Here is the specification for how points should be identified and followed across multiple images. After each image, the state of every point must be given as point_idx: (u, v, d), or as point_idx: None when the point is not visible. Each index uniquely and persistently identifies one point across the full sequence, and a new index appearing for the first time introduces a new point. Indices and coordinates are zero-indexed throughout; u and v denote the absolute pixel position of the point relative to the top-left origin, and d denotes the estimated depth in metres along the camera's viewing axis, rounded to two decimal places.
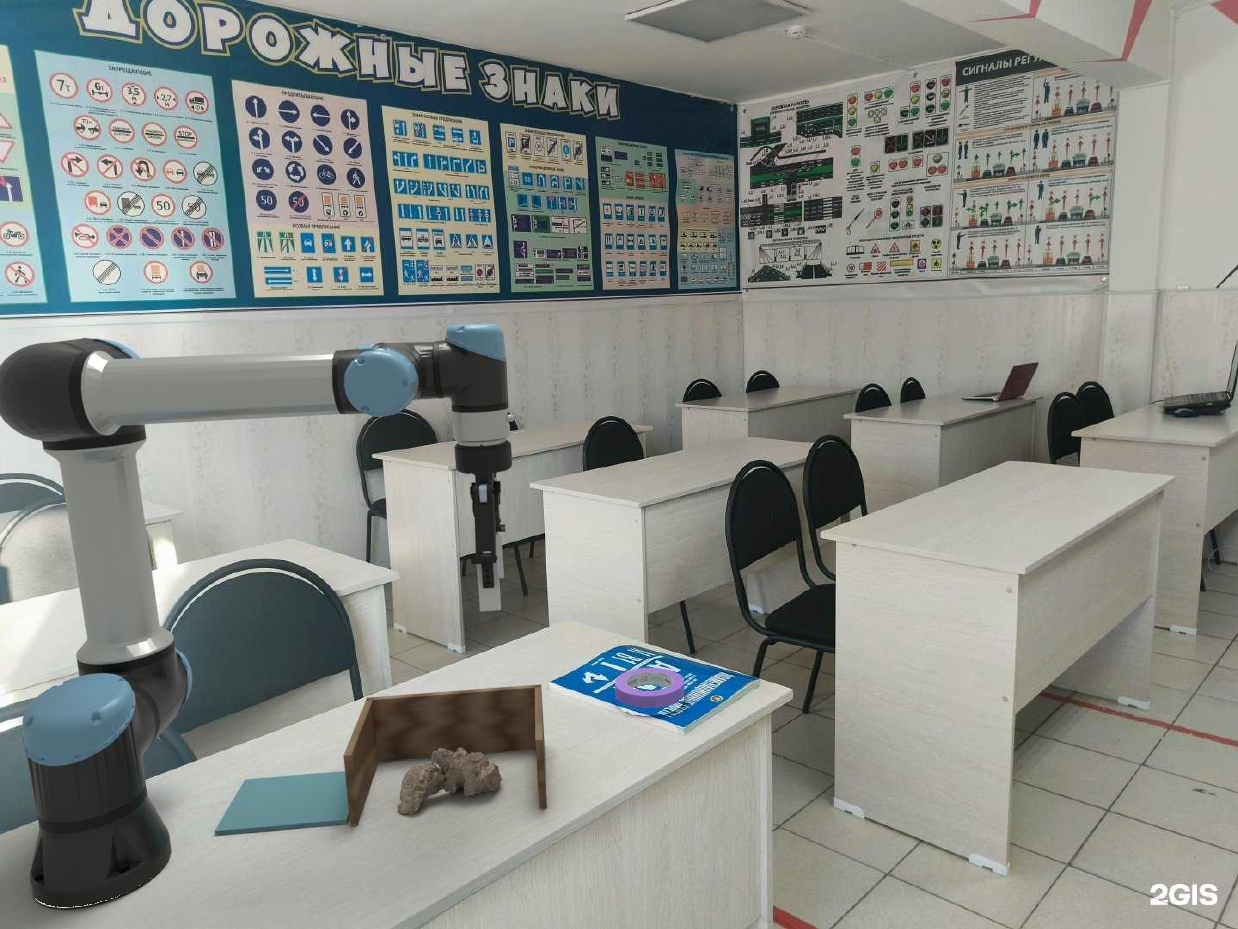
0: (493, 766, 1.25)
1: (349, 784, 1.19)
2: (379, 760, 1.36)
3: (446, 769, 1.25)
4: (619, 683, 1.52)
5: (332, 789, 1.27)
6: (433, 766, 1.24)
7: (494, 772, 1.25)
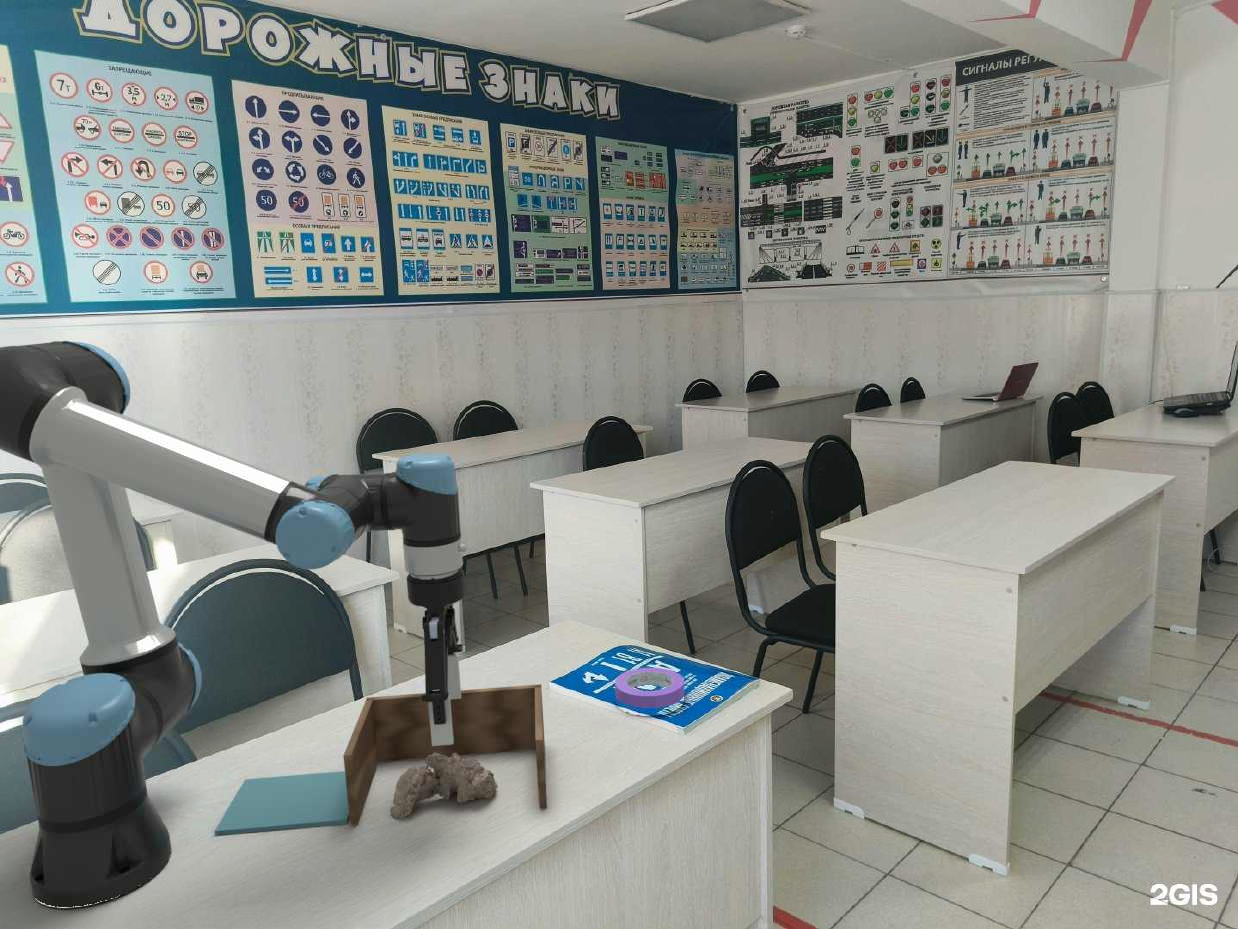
0: (487, 773, 1.23)
1: (349, 784, 1.19)
2: (379, 760, 1.36)
3: (440, 774, 1.24)
4: (619, 683, 1.52)
5: (332, 789, 1.27)
6: (427, 770, 1.23)
7: (488, 779, 1.23)
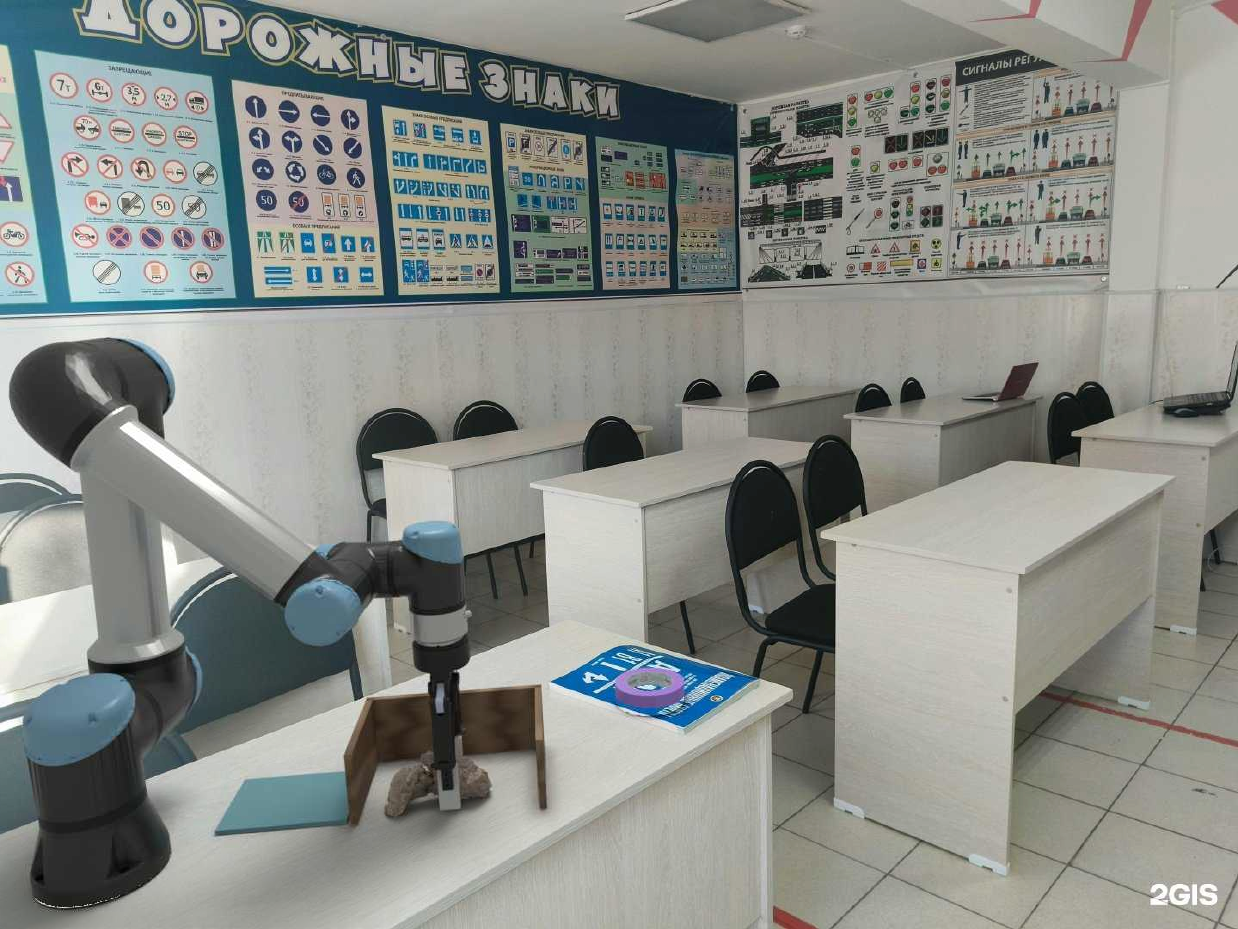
0: (481, 772, 1.23)
1: (349, 784, 1.19)
2: (379, 760, 1.36)
3: (435, 772, 1.24)
4: (619, 683, 1.52)
5: (332, 789, 1.27)
6: (421, 769, 1.24)
7: (482, 778, 1.23)
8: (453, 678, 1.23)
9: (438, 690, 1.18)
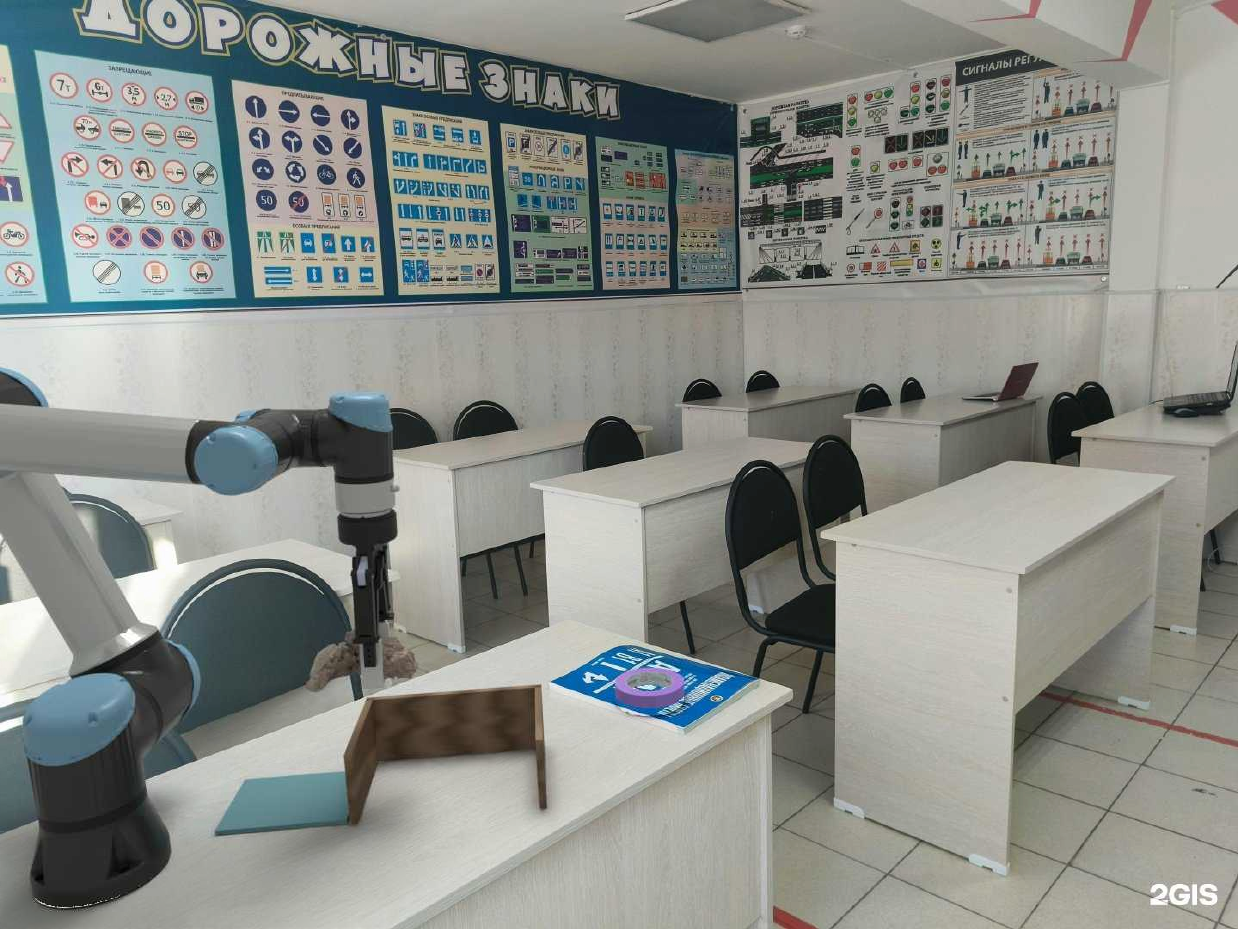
0: (407, 651, 1.21)
1: (349, 784, 1.19)
2: (379, 760, 1.36)
3: (359, 651, 1.21)
4: (619, 684, 1.52)
5: (332, 789, 1.27)
6: (346, 646, 1.21)
7: (407, 657, 1.20)
8: (380, 555, 1.20)
9: (361, 563, 1.15)
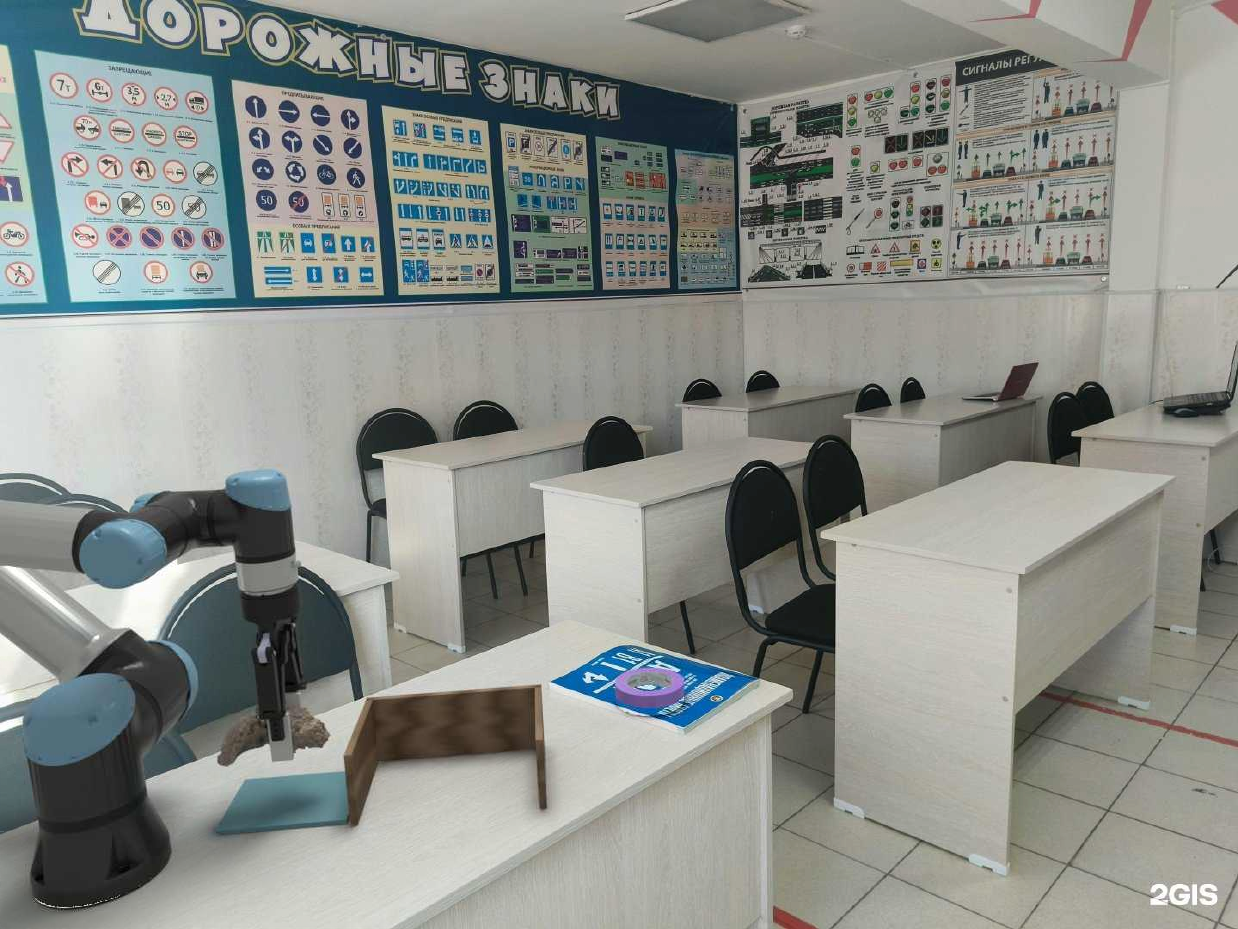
0: (316, 722, 1.23)
1: (349, 784, 1.19)
2: (379, 760, 1.36)
3: None
4: (619, 683, 1.52)
5: (332, 789, 1.27)
6: (256, 719, 1.23)
7: (316, 728, 1.22)
8: (286, 629, 1.22)
9: (263, 640, 1.16)
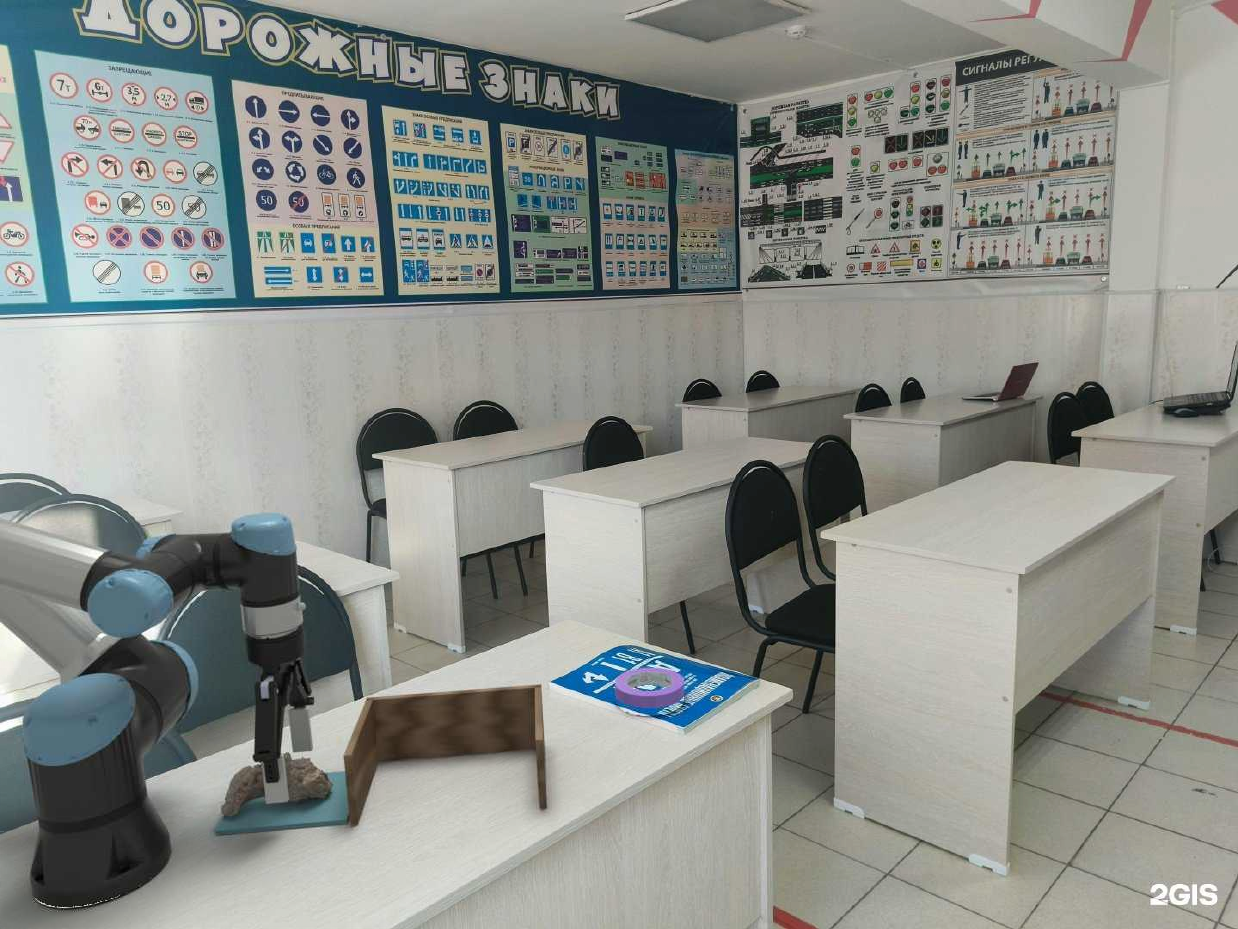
0: (319, 773, 1.24)
1: (349, 784, 1.19)
2: (379, 760, 1.36)
3: None
4: (619, 683, 1.52)
5: (332, 789, 1.27)
6: (259, 769, 1.24)
7: (319, 779, 1.23)
8: (290, 672, 1.23)
9: (267, 678, 1.18)
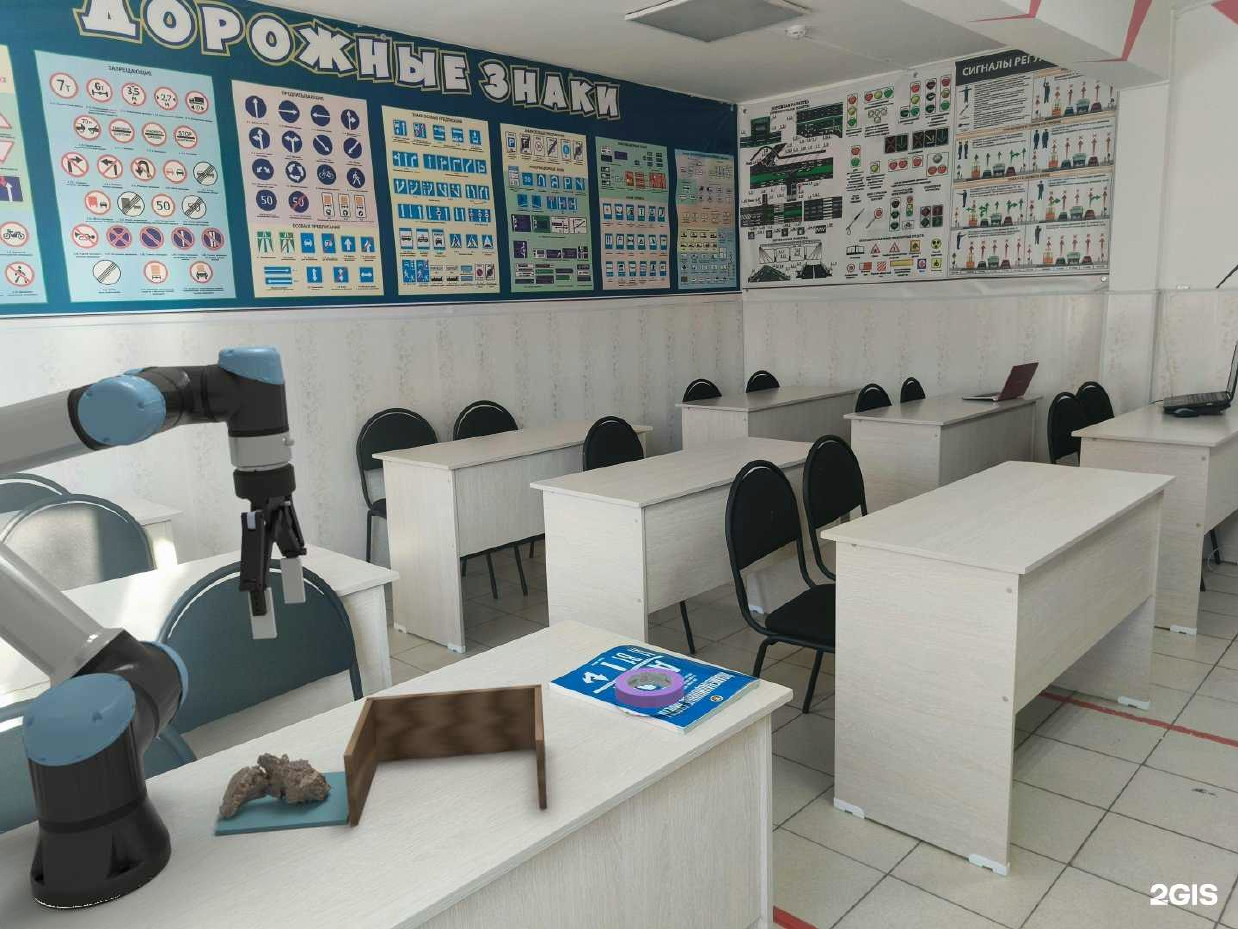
0: (316, 775, 1.23)
1: (349, 784, 1.19)
2: (379, 760, 1.36)
3: (272, 774, 1.24)
4: (619, 683, 1.52)
5: (332, 789, 1.27)
6: (257, 770, 1.23)
7: (316, 782, 1.23)
8: None
9: (254, 511, 1.15)
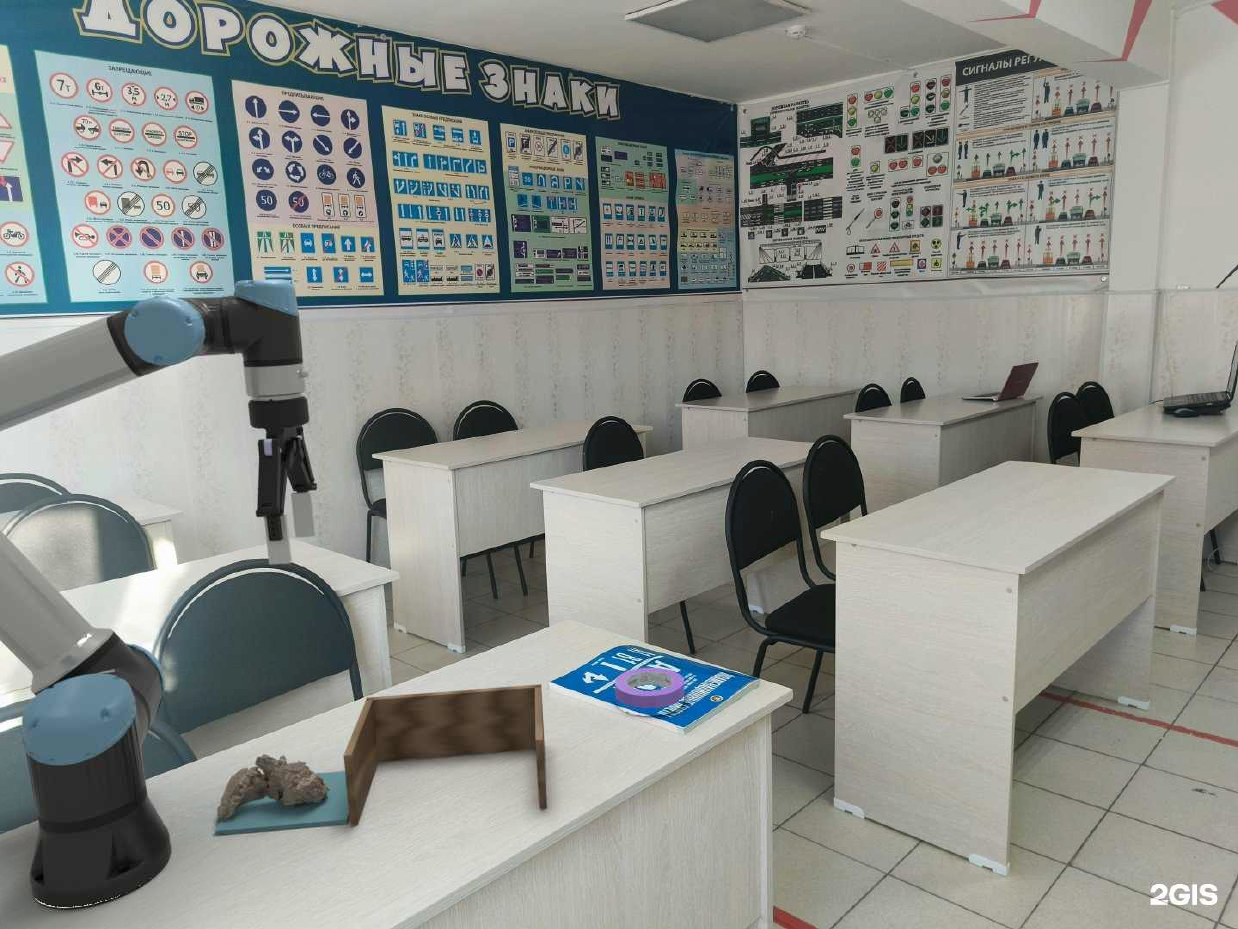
0: (314, 778, 1.22)
1: (349, 784, 1.19)
2: (379, 760, 1.36)
3: (270, 776, 1.24)
4: (619, 683, 1.52)
5: (332, 789, 1.27)
6: (256, 772, 1.23)
7: (314, 784, 1.22)
8: None
9: None
